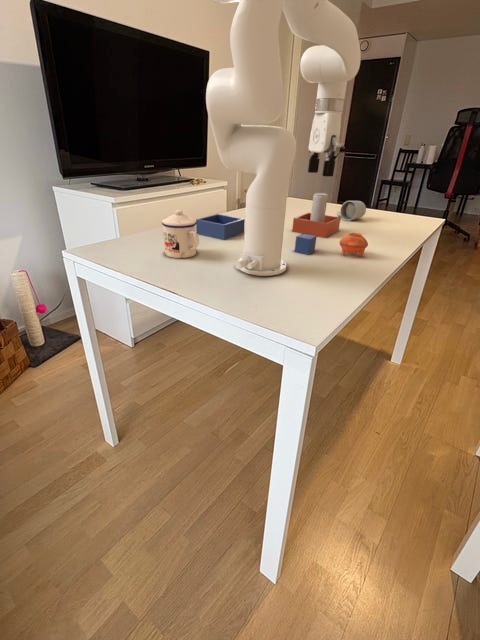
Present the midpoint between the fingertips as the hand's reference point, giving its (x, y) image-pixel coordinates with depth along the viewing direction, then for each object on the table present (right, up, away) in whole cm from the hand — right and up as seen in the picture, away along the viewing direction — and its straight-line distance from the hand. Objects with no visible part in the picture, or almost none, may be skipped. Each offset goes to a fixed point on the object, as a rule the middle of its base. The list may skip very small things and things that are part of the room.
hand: (319, 174), depth 103 cm
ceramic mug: (+21, -2, +39) cm, 44 cm away
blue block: (-5, -24, -2) cm, 24 cm away
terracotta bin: (+3, -12, +20) cm, 23 cm away
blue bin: (-31, -15, +13) cm, 36 cm away
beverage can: (+3, -12, +19) cm, 23 cm away
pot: (+8, -25, -3) cm, 27 cm away
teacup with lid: (-40, -26, -9) cm, 48 cm away
